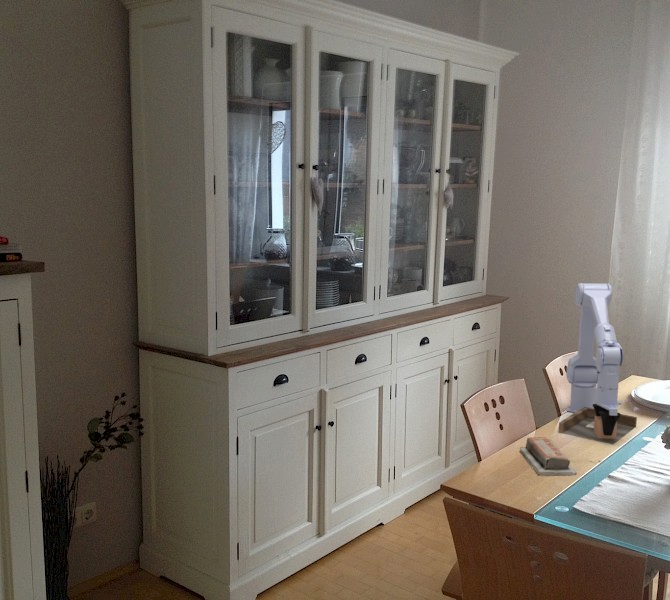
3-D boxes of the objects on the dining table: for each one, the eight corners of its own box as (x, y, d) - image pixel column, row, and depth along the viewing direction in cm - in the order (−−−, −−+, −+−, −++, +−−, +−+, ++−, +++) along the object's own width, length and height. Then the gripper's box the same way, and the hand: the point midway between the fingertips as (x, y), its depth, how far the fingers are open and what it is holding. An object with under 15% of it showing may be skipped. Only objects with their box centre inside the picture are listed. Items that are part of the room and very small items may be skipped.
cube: (593, 432, 216) (594, 416, 216) (611, 432, 216) (612, 416, 215) (598, 438, 211) (599, 421, 211) (616, 438, 211) (617, 422, 210)
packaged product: (519, 435, 204) (554, 435, 204) (518, 452, 205) (553, 451, 205) (539, 459, 186) (578, 458, 187) (538, 477, 187) (577, 476, 187)
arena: (584, 419, 232) (584, 406, 231) (636, 429, 222) (636, 417, 221) (558, 435, 217) (559, 422, 216) (612, 447, 206) (613, 434, 206)
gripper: (629, 394, 204) (626, 440, 206) (614, 380, 218) (611, 424, 220) (603, 393, 204) (601, 440, 207) (590, 379, 219) (587, 423, 221)
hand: (604, 431), depth 213 cm, fingers closed on cube, 5 cm apart
